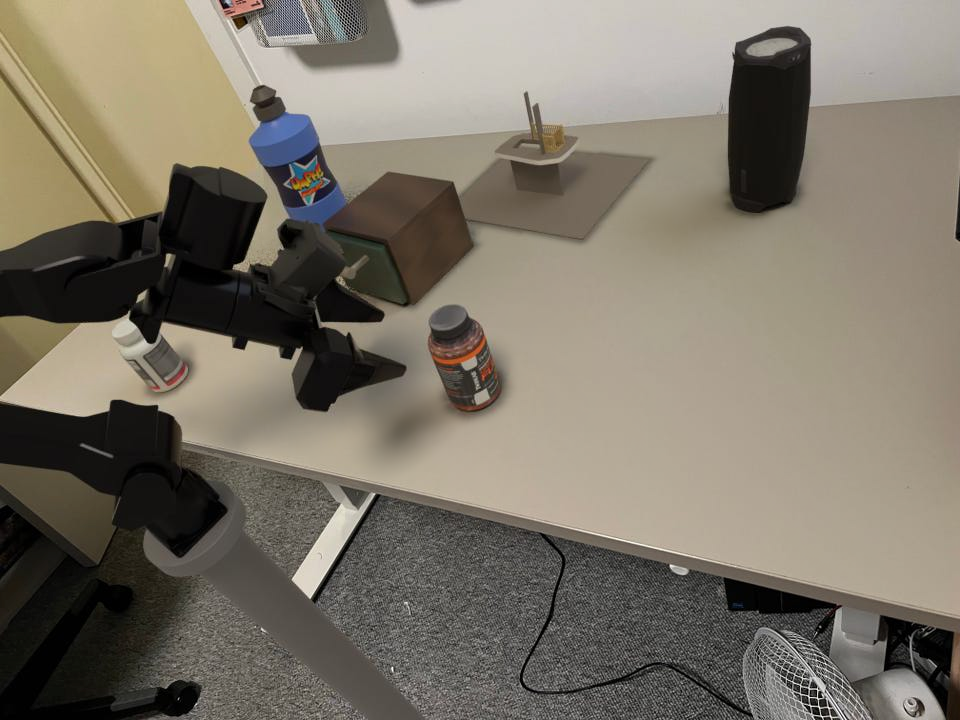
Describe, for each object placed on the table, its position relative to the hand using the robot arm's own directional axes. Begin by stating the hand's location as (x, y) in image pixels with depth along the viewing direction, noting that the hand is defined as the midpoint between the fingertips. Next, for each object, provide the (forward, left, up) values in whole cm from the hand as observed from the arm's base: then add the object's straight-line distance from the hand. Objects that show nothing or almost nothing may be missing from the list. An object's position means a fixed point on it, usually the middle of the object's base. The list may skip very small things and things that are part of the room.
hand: (393, 342), depth 62 cm
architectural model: (+44, +13, -11) cm, 47 cm away
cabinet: (+21, +21, -11) cm, 32 cm away
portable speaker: (+49, -18, -11) cm, 53 cm away
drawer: (+17, +21, -10) cm, 29 cm away
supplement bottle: (+5, -3, -11) cm, 13 cm away
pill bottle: (-11, +39, -11) cm, 42 cm away
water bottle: (+22, +40, -11) cm, 47 cm away
